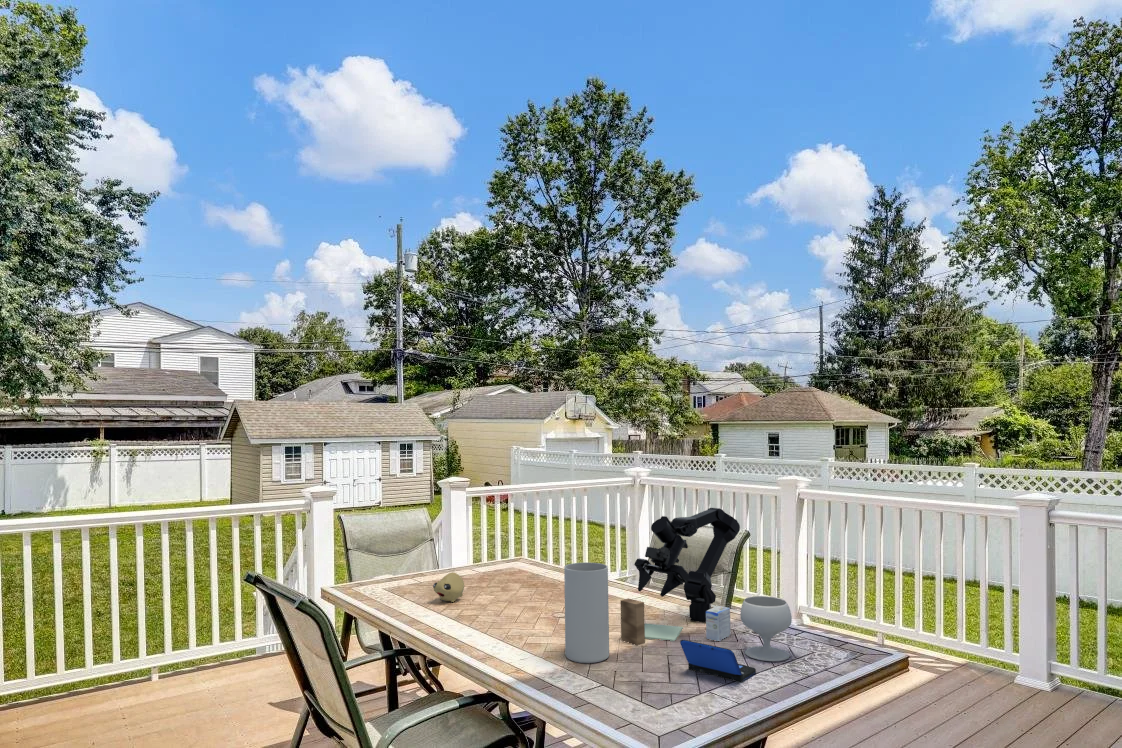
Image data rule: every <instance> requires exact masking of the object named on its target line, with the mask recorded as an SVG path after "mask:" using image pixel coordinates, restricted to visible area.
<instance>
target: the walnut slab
mask: <svg viewBox="0 0 1122 748" xmlns="http://www.w3.org/2000/svg"><path fill="white" fill-rule="evenodd" d="M645 623H646V622H645V602H644V601H640V600H636V599H633V598H624V599H621V600H620V640H621V641H622V642H624V641H625V643H627V642H629V643H628V644H630V643H632V645H634V644H635V646H641V645H642V644H645V643H646V639H645Z"/></svg>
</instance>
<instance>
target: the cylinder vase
mask: <svg viewBox="0 0 1122 748" xmlns="http://www.w3.org/2000/svg"><path fill="white" fill-rule="evenodd" d="M563 571H564V572H563V573H564V579H563V580H564V641H565V642H564V651H565V653H564V654H565V657H566V658H567V659H568V660H570V661H572V662H574V663H580V664H594V663H595V664H596V663H600V662H604V661H605V660H606V659H608V658H609V657H610V624H609V623H610V621H609V619H610V618H609V615H610V614H609V613H610V611H609V607H610V606H609V566H608V565H607V564H605V563H599V562H590V561H589V562H574V563H569V564H568V563H567V564H566V565H564V569H563Z"/></svg>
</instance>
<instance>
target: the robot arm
mask: <svg viewBox="0 0 1122 748" xmlns="http://www.w3.org/2000/svg"><path fill="white" fill-rule="evenodd" d="M708 525H711V526H712V533H713V538H712V540H711V542H710V544H709V545H708V548H707V550H706V552H705V553H704V556H703V558H702V560H701V561H700V564H699V566H698V568H697V569H696V570H694V571H693V570H689V571H687V570H686V569H685V568H684V567H683V566H682V565H680V564H679V562H680V559H679V556H680V554H681V552H682V549H688V548H689V546H688V543H687V540H686V539H684V538H683V537H687V538H691V537H692V536H694V535H695V534H696V533H698V530H699V529H701V528H703V527H705V526H708ZM740 528H741V526H740V522H739V521H738V520H737V519H735V517H733V516H731V515H729V514H728V513H726V512H725V511H724V509H722V508H720V507H719V508H718V507H710V508H708V509H706V510H704V511H701V512H698V513H695V514H693V515H691V516H681V517H679V516H678V517H674V518H673V519H672V520H671V521H670V519H669V518H668V516H666V515H665V516H664V515H661V517H660V518H658V519H656V520H655V521H654V522H653V523H652V524H651V526H650V530H651V533H653V534H654V536H656V538H657V539H658V540H659V541H660V542H661V543H662V544H663V546H661V547H659V548H657V547H652V546H651V547H650V546H647V547H646V549H645V554H644V557H645V558H649V559H651V560H650V561H651V562H652V563H653V564H651V562H650V561H649V560H648V559H645V558H636V560H635V562H634V564H633V566H635V567H636V570H638V574H639V575H638V585H637V590H638V592H641V591H643V589H644V588H645V587H646V586H647V584H648V583H649V581H651V579H652V575H653V574H654V572H655V573H660V574H665V575H666V580H665V582H664V585H663V586H662V589H661V591H660V593H659V596H660V597H665V596H666V595H667V594H668V593H670V592H671V591H673V590H674V589H676V588H677V587H679V586H681V585H682V586H683V591H684V594H685V599H686V600H687V601H690V604H689V605H688V606H689V608H688V609H689V610H688V611H689V612H688V613H689V615H688V616H689V620H690V622H696V621H699V622H698V623H706V611H707V610H709V609H711V608H712V604H714V603H715V602H716V598H717V595H716V593H714V591H713V590H712V587H713V584H712V583H713V582H712V576H713V573H714V572H715V569H716V568H717V565H718V563H719V562H720V559H721V557H722V555H723V553H724V551H725V549H726V547H727V545H728V544H729V543H730V542H732V541H733V540H735V539H736V537H737V535H738V534H739V533H740V530H741V529H740ZM676 563H677V564H676ZM678 564H679V565H678Z"/></svg>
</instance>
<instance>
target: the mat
mask: <svg viewBox="0 0 1122 748" xmlns="http://www.w3.org/2000/svg"><path fill="white" fill-rule="evenodd" d="M682 629H683V630H684V626H678V625H677V626H676V625H668V624H667V625H666V624H657V623H656V624H655V623H646V622H645V640H653V639H661V640H660V641H663V640H670V641H669V642H673V641H675V640H677V639H678V638H679V636H680V635H681V633H682V632H683V630H682ZM677 637H678V638H677ZM675 642H676V641H675Z"/></svg>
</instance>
